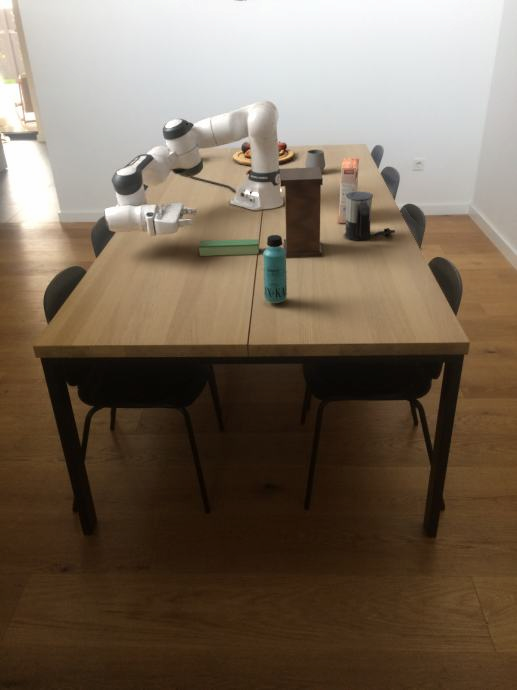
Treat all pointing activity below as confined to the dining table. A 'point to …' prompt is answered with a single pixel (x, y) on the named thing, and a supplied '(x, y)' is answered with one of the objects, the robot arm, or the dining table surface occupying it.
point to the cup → (315, 159)
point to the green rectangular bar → (229, 247)
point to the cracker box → (347, 184)
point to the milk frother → (360, 216)
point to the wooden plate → (245, 154)
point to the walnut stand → (302, 211)
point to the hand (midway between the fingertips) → (194, 216)
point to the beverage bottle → (275, 270)
